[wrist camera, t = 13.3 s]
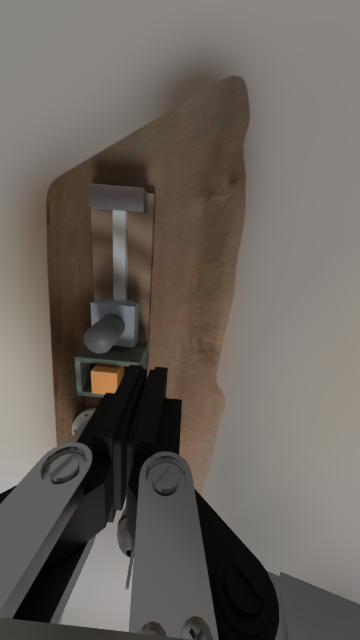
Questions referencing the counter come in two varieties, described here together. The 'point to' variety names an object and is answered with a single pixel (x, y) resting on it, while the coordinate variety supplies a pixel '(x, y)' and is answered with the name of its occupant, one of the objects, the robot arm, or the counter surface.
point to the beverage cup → (125, 542)
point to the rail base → (135, 261)
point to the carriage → (112, 325)
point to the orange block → (106, 378)
